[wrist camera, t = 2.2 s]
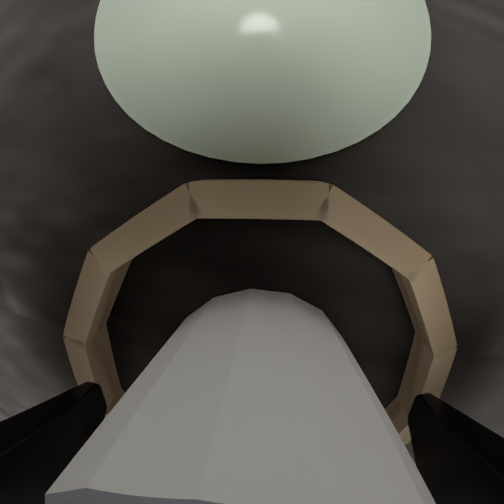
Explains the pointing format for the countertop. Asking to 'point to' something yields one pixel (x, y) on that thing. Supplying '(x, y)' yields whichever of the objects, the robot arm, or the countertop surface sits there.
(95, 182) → the countertop surface
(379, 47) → the pale green round disc
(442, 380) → the collar
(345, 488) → the shot glass
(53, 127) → the countertop surface
